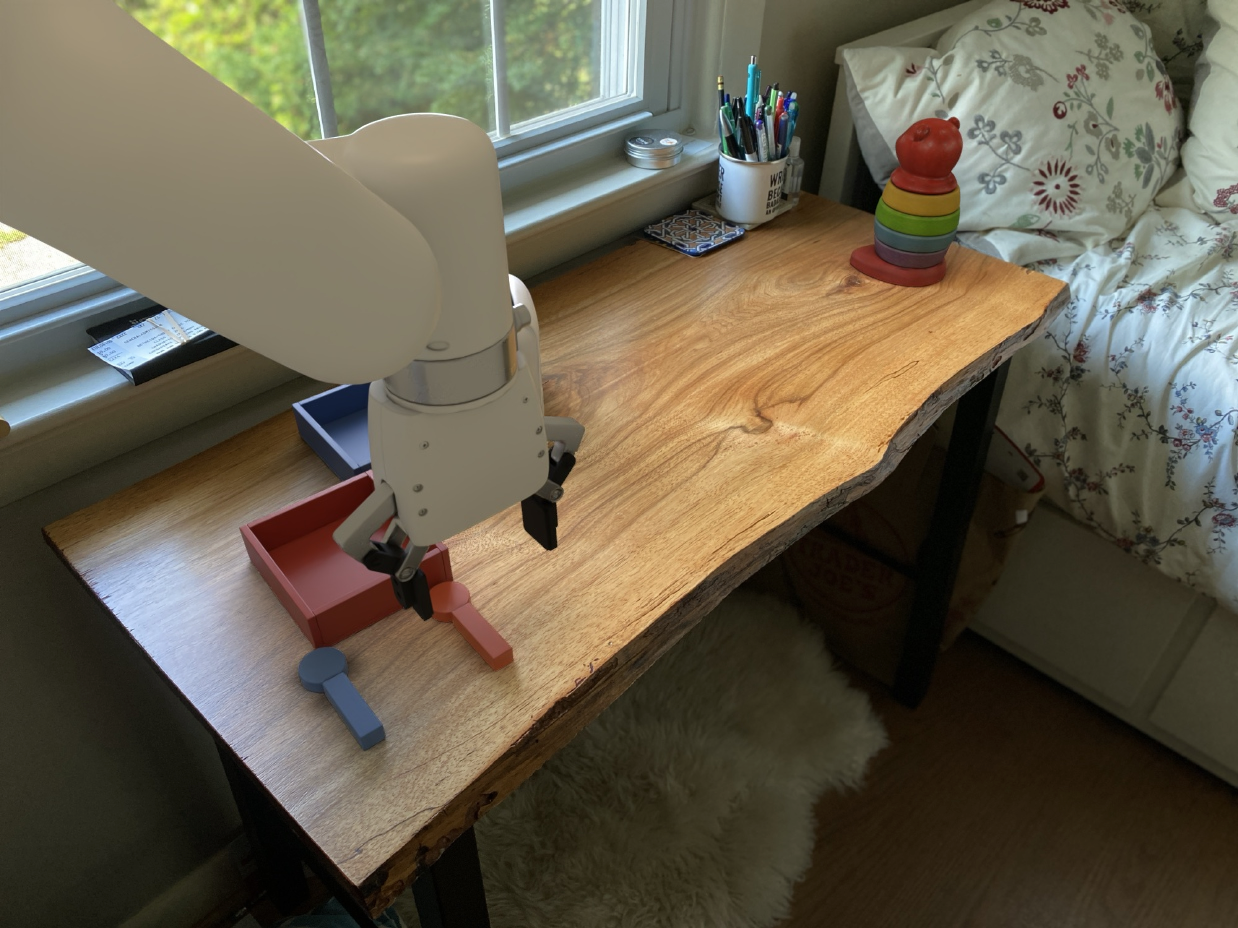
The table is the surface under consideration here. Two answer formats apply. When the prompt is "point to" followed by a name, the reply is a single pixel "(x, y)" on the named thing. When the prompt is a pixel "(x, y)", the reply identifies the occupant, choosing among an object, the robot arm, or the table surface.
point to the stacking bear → (916, 208)
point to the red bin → (328, 564)
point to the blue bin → (337, 428)
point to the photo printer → (528, 334)
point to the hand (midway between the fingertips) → (481, 571)
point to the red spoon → (470, 623)
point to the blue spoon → (340, 693)
